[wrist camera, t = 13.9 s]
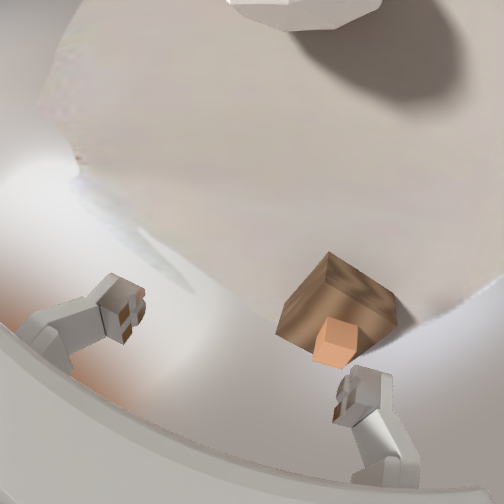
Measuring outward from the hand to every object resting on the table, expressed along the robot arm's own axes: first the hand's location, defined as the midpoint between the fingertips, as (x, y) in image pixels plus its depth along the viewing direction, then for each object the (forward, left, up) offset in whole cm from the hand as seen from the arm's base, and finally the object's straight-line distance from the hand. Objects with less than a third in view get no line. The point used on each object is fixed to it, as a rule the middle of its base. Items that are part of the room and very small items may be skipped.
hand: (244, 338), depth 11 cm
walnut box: (-12, +25, -34) cm, 44 cm away
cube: (-12, +25, -26) cm, 38 cm away
